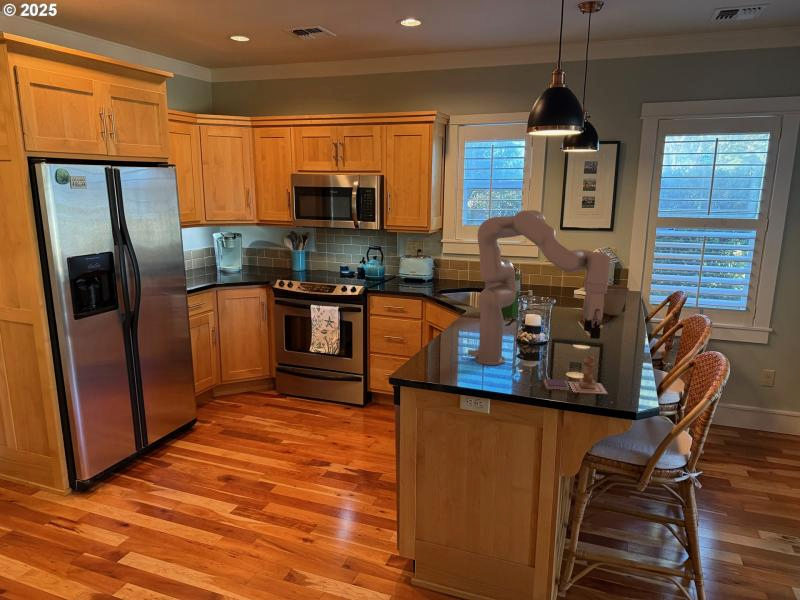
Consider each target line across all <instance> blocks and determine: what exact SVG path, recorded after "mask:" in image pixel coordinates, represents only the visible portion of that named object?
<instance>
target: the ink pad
mask: <svg viewBox="0 0 800 600" xmlns="http://www.w3.org/2000/svg"><path fill="white" fill-rule="evenodd" d="M543 385H544V387H545V389H546V390H552V389H555V391H570V386H569V384H568V381H567V380H565V379H552V378H551V379H548V378H546V379H543ZM556 389H558V390H556ZM559 389H560V390H559Z"/></svg>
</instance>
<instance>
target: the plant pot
mask: <svg viewBox="0 0 800 600" xmlns="http://www.w3.org/2000/svg"><path fill="white" fill-rule="evenodd" d="M629 292H630V287H627V286H623V285H616V284H608V286H607V293H604V307H603V309H604V311H605V314H606V315H608V316H620V315H621V313H622V311H623V308H624V307H625V304H626V302H627V299H628V296H629Z"/></svg>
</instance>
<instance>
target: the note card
mask: <svg viewBox="0 0 800 600" xmlns="http://www.w3.org/2000/svg"><path fill="white" fill-rule="evenodd" d="M568 383H569V384H568ZM595 383H596V389H595V390H592V389H581V388H580V386H579V381H567V384H568V386H569V385H570V386H569V388H570V387H571V388H570V389H572V390H571V391H573V392H572V393H578V392H579V393H581V394H583V393H584V394H601V395H608V391H607V389H605V387H604V385H603V384H602V383H599V382H595ZM579 393H578V394H579Z"/></svg>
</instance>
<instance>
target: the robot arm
mask: <svg viewBox="0 0 800 600" xmlns="http://www.w3.org/2000/svg"><path fill="white" fill-rule="evenodd" d="M518 236H523V237H525V238H526V239H528V240H529V241H530V242H532V243H533V244H534V245H535V246H537V247H538V248H539V249H540V251H541V253H542V254H543V255H544V257H545V258H546V260H547V261H548V262H550V263H551V264H552V265H554V266H555V267H556V268H557V269H559V270H560V271H562V272H565V273H576V272H579V271H585V278H584V289H583V290H584V292H585V294H584V298H583V299H584V301H583V308H582V316H583V317H584V323H583V325H584V326H583V331H584V332H590V333H589V338H590V339H591V340H592V339H593V340H595V339H596V340H599V339H600V338H601V330H602V329H601V327H602V323H601V322H602V320H603V316H604V293H607V286H608V285H609V274H610V273H609V272H610V265H611V264H610V263H611V256H610V254H609V253H608V252H607V253H606V252H603V251H602V252H601V251H590V250H586V249H575V250H574V249H573V250H569V249H568V248H566V247H565V246H563V245H562V244H561V243H560V242H559V241H558V240H557V239H556V236H557V231H556V230H555V228H554V227H552V226H550V225H549V224H548V223H546V218H545V216H544V214H543V213H542V212H541V211H539V210H534V209H532V210H531V209H529V210H521V211H518V212H517V213H516V214H514V215H509V216H507V215H506V216H493V217H490V218H487V219H486V220H484V221H483V222H482V223H481V224H480V226H479V228H478V230H477V243H478V249H479V268H480V277H481V280H482V281H483V282H484V283H485V282H486V283H495V284H496V286H492V287H488V288H486V289H485V288H484V289H483V290H481V292H480V293H479V295H478V305H479V311H480V313H479V316H480V320H479V337H478V338H479V340H478V344H479V345H478V348H477V349H475V350H473V349H468V350H467V355H470V356H471V357H473V356H474V360H475V362H476V363H479V364H481V365H485V366H486V365H487V366H498V365H499V366H500V365H503V364H505V363H506V358H505V357H504V356H502V355H503V354H502V353H503V339H504V338H503V337H504V336H503V335H504V317H503V315H502V311H501V308H503V307H507V306H510V305H511V304H513V302H514V301H515V298H516V285H515V274H516V273H515V268H514V264H513V263H512V262H511V261H510V260H509V259H507V258H502V255H501V252H502V251H501V247H500V244H499V242H498V239H505V238H514V237H518Z"/></svg>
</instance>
